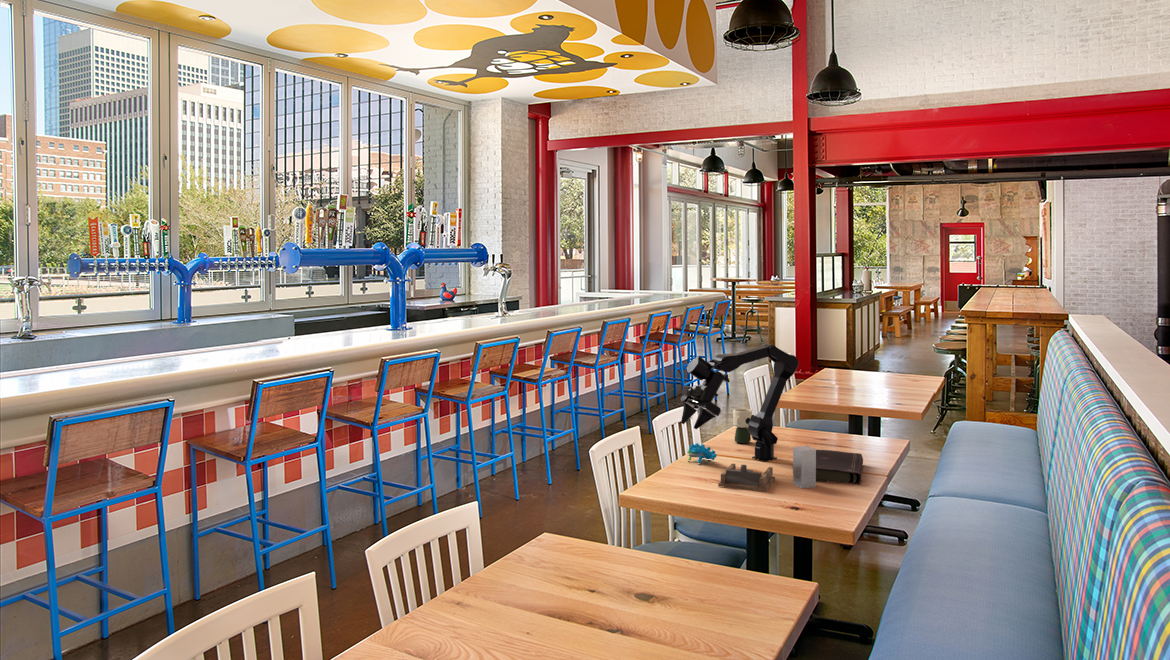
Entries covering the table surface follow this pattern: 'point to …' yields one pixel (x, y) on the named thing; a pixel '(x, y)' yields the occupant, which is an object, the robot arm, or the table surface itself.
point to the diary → (838, 466)
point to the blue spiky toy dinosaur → (701, 452)
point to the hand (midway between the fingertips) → (688, 426)
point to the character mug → (742, 424)
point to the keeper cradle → (746, 478)
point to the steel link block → (804, 467)
